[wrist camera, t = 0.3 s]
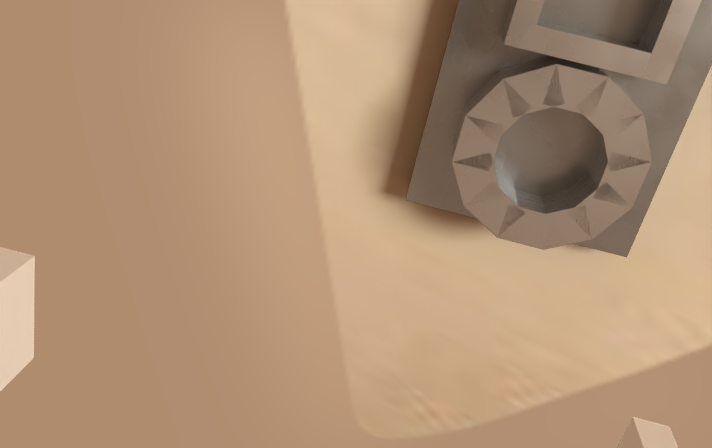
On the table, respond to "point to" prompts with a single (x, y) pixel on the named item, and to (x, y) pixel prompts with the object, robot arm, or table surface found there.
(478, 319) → the table surface
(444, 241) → the table surface
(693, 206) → the table surface
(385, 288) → the table surface
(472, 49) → the jig
